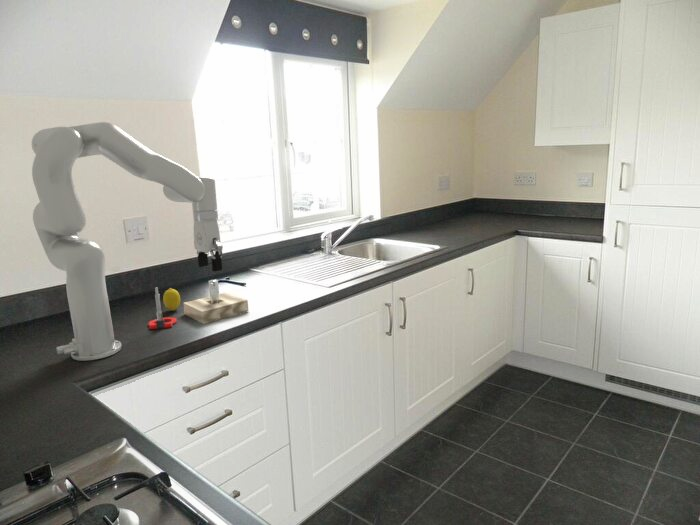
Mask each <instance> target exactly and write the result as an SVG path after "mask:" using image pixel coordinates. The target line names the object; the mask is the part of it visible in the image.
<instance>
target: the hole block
mask: <svg viewBox="0 0 700 525" xmlns="http://www.w3.org/2000/svg"><path fill="white" fill-rule="evenodd" d="M219 296H220V302H219V303H216V304H211V300H210V295H209V296H205V297H201V298H197V299H193V300H189V301H185V302H183V304H182V305H183V311H184V315H185V316H187V317H189V318H191V319H193V320H195V321H197V322H199V323H201V324H203V325H205V324H208V322H209V323H211V322H215V320H216V321H219V320H218V319H220V320H222V318H223V319H226V318H225V317H227V318H229V316H230V317H233V315H234V316H237V314H238V315H241V314H244V313H243V312H245V313H248V312H247V311H249V303H248V302H249V301H248V299H246V298H243V297H241V296H238V295H235V294H233V293H230V292H227V291H226V292H223V293H219ZM240 313H241V314H240Z"/></svg>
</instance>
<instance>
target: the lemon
mask: <svg viewBox="0 0 700 525" xmlns="http://www.w3.org/2000/svg"><path fill="white" fill-rule="evenodd" d="M162 298H163V299H162V300H163V301H162V302H163V305H164V306H165V308H166V309H168V310H171V311H172V312H174V311H175V310H176V309H177V308H179V306H180V305H181V302H182V301H181V295H180V293H179V291H178V290H176V289H174V288H172V287H169V288H168V289H167V290H165V291H164V293H163V297H162Z"/></svg>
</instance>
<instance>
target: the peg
mask: <svg viewBox="0 0 700 525" xmlns="http://www.w3.org/2000/svg"><path fill="white" fill-rule="evenodd" d="M208 288H209V289H208V290H209V296H210V300H211V304H216V303H219V302H220V296H219V294H220V289H219V279H210V280H208Z"/></svg>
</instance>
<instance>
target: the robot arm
mask: <svg viewBox="0 0 700 525" xmlns="http://www.w3.org/2000/svg"><path fill="white" fill-rule="evenodd" d="M31 149H32V150H33V152H34V154H35V156H34V158H33V163H32V166H31V176H32V182H33V184H34V188H35V191H36V193H37V196H38V200H39V202H38V203H37V204H36V205H35V207H34V209H33V212H32V221H33V224H34V227H35V231H36V233H37V236H38V238H39V240H40V243H41V245H42V247H43V251H44V253H45V255H46V257H47V259H48V260H49V262H50V264H52V266H53V267H55V268H56V269H58V270H60V271H64V272H65V273H66V279H65V280H66V283H65V284H66V286H65V288H66V295H67V296H66V297H67V301H68V306H69V307H68V308H69V313H70V319H71V323H72V329H73V330H72V331H73V336H74V338H72V339H71V342H69V343H68V344H65V345H60V346H57V347H55V348H56V349H55V350H56V353H57V355H60V354H63V353H64V355H68V354H70V355H71V358H72V359H73V360H76V361H81V362H82V361H84V362H85V361H95V360H99V359H104V358H107V357H110V356H112V355H114V354H117V353H118V352H120V351H121V349H122V347H123V345H122V342H121V341H120V340H117V339H115V334H114V329H113V328H114V327H113V322H112V316H111V309H110V303H109V302H110V301H109V296H108V290H107V289H108V288H107V283H106V257H105V253H104V251H103V249H102V248H101V247H100V246H99V244H97V243H96V242H95V241H93V240H91V239H87V238H81V237H80V236H79V234H80V233H81V232H82V231H84V229H85V227H86V224H87V216H86V213H85V211H84V209H83V206H82V203H81V201H80V198H79V196H78V193H77V190H76V188H75V185H74V180H73V176H72V170H73V167H74V164H75V162H76V160H77V159H79V158H86V157H91V156H97V155H98V156H99V155H101V156H103V157H105V158H106V159H108V160H109V161H111V162H112V163H114V164H116V165H117V166H119V167H120V168H122V169H124V170H125V171H127V172H128V173H129V174H131V175H133V176H134V177H137V178H139V179H142V180H145V181H149V182H153V183H157V184H160V185H163V186H162V192H163V196H165V198H166V199H168V200H169V201H172V202H176V203H191V206H192V216H193V246H194V247H193V248H194V249H195V250H196V255H197V262H198V267H199V268H203V267H207V266H209V258H208V256H209V255H208V254H210V255H211V259H210V260H211V262H210V263H211V272H219V271H222V270H223V263H222V262H223V260H222V258H223V244H222V243H221V236H220V235H221V234H220V227H219V224H218V223H219V222H218V220H219V215H218V212H219V211H218V203H217V190H216V181H215V179H214V177H213V176H209V175H207V176H196V174H194V173H193V172H192V171H190V170H188V168H185V167H184V166H182V165H181V164H179V163H177V162H175V161H172V160H171V159H168V158H166V157H164V156H163V155H160V154H159V153H156V152H154V151H152V150H151V149H149V148H148V147H147V146H145V145H144V144H142V143H141V142H140V141H138V140H136V139H135V138H134V137H132V136H131V135H129V134H128V133H126V132H125V131H124V130H122V129H121V127H118V126H116V125H115V124H114V123H110V122H106V121H101V122H99V121H98V122H93V123H87V124H86V123H85V124H80V125H73V126H55V127H49V128H42V129H40V130H39V131H37V132H36V133H35V134H33V136H32V139H31Z"/></svg>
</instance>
